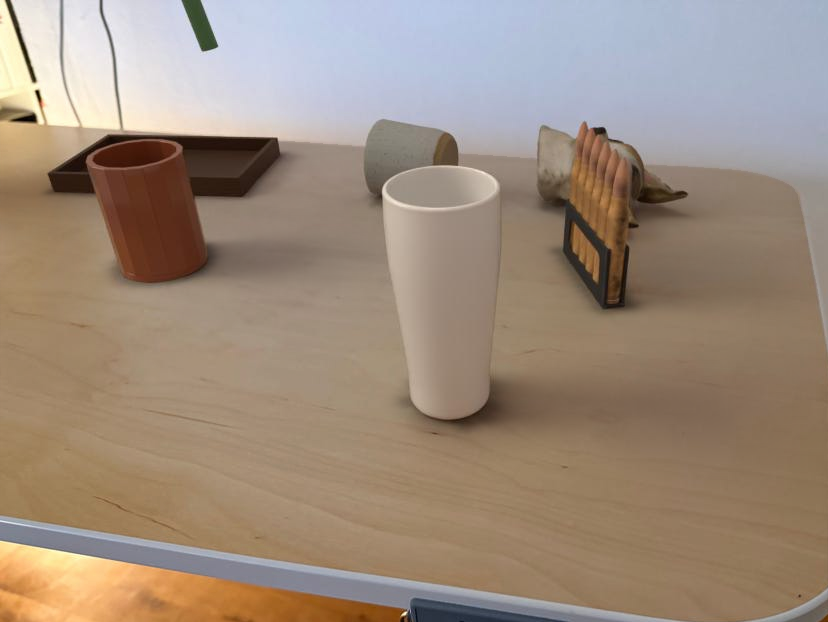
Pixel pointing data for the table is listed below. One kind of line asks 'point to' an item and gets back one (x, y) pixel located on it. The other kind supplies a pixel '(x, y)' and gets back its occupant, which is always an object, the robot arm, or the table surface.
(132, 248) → the tumbler
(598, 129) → the ceramic sculpture
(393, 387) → the table surface
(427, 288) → the drinking glass
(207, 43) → the straw
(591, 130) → the ammunition clip
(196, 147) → the tray
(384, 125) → the ceramic mug
